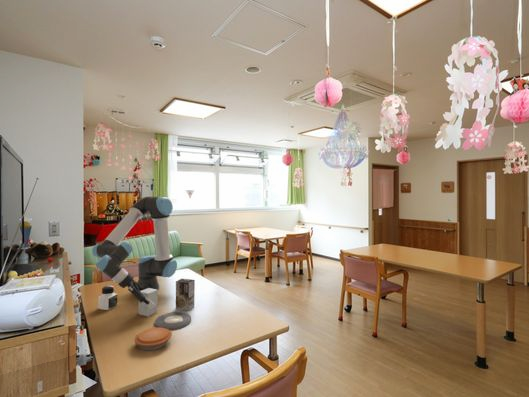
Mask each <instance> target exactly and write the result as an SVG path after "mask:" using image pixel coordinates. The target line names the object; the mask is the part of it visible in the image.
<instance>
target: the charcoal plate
mask: <svg viewBox="0 0 529 397" xmlns="http://www.w3.org/2000/svg"><path fill="white" fill-rule="evenodd" d="M191 322H192V316H191V314H189V313H186V312H183V311H182V312H181V311H174V312H168V313H165V314H162V315H159V316H158V317H157V318H155V321H154V325H155V328H165V329H168V330H170V331H172V330H171V329H174V330H177V329H178V328H179V329H181V328H185V327H187V326H188V325H189V324H190V323H191ZM186 325H187V326H186ZM184 326H185V327H184Z"/></svg>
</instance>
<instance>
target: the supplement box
mask: <svg viewBox="0 0 529 397" xmlns="http://www.w3.org/2000/svg"><path fill="white" fill-rule="evenodd" d="M140 292H141V293H142V294H143V295H144V297H145V298H148V299H149V300H150V301H151V302H153V303H154V304H155V306H154V307H153V308H152V309H151V308H149V307H148V306H147V305H146V304H144V303H143V302H141V303H140V301H139V300H138V315H139V316H144V317H151V316H152V315H154V314H156V313H158V312H159V310H158V308H159V304H158V303H159V302H158V301H159V289H158V290H156V289H151V288H147V289H145V290H142V291H140ZM141 299H142V298H141Z"/></svg>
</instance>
